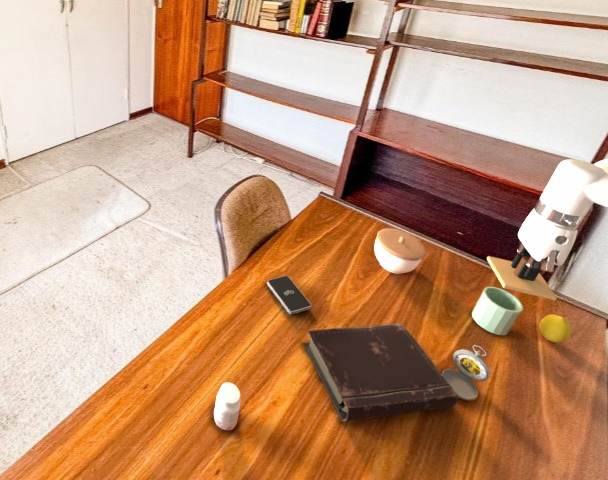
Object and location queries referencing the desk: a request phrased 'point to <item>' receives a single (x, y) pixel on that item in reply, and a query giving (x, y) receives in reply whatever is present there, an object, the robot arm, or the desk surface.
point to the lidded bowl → (398, 250)
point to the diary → (377, 372)
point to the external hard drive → (289, 295)
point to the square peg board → (515, 283)
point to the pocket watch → (467, 373)
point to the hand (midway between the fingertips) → (522, 273)
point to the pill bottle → (227, 406)
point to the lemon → (555, 328)
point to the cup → (497, 310)
